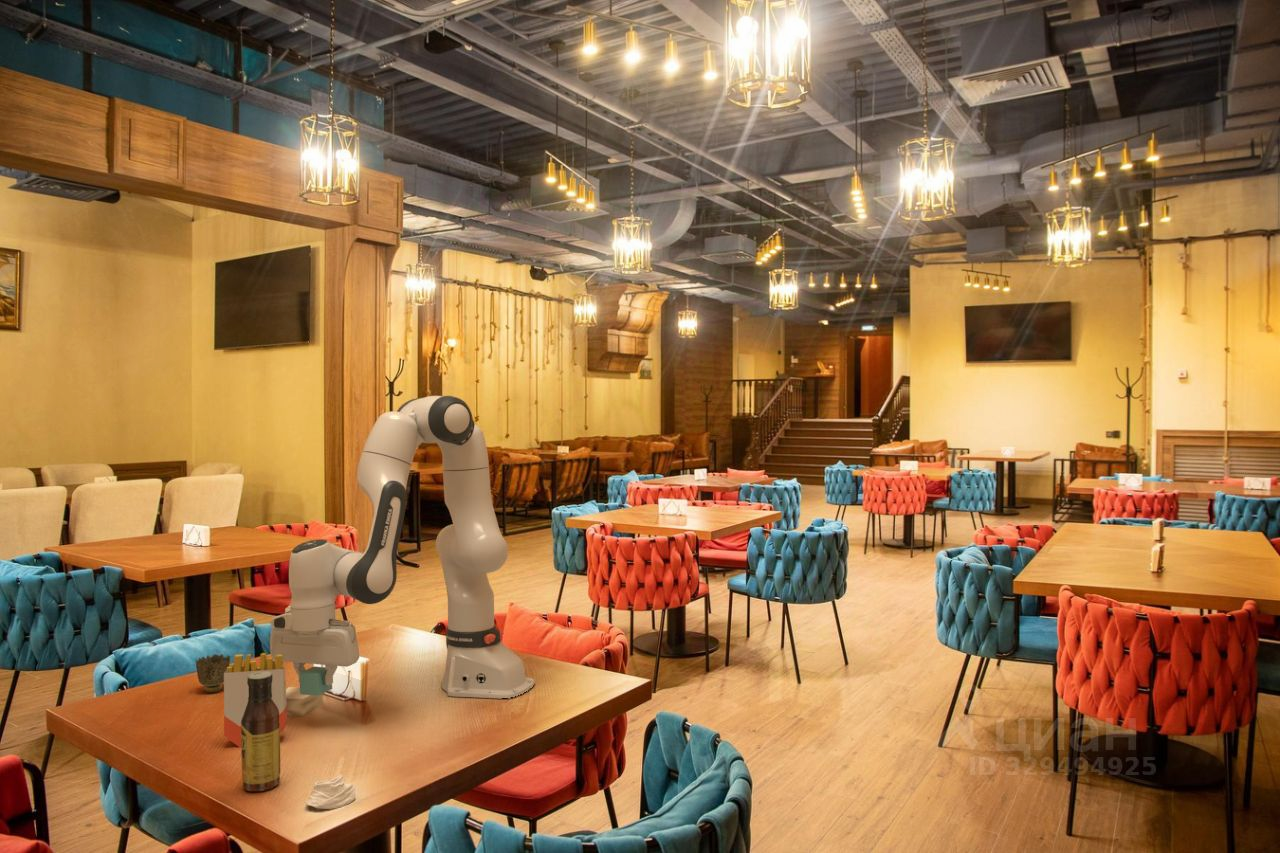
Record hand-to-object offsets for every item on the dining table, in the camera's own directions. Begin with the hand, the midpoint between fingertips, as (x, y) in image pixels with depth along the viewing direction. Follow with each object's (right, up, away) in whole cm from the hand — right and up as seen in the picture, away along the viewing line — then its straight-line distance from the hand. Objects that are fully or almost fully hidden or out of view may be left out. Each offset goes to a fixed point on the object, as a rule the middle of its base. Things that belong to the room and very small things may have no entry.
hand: (316, 683), depth 180 cm
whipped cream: (+16, -10, -36) cm, 40 cm away
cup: (-34, -9, +24) cm, 42 cm away
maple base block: (-8, -9, +11) cm, 17 cm away
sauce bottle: (+2, -9, -30) cm, 31 cm away
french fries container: (-9, -9, -9) cm, 15 cm away
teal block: (0, -2, 0) cm, 2 cm away
